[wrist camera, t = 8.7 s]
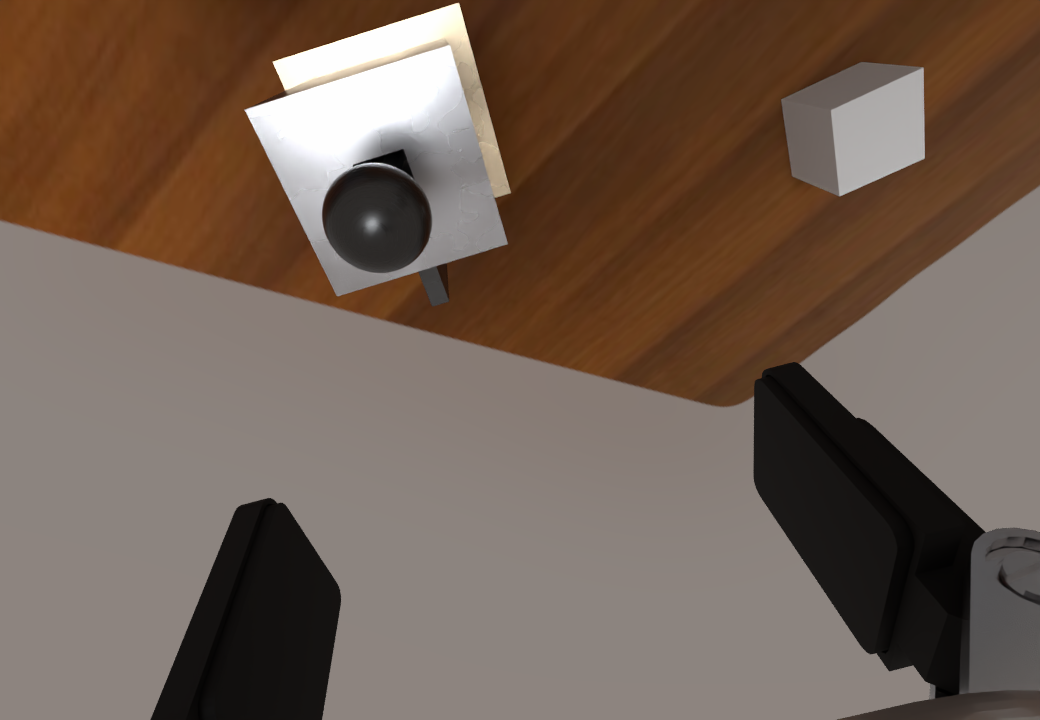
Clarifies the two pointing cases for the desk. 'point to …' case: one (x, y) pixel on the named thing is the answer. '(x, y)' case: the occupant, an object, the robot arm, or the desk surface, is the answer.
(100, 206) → the desk surface
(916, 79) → the white cube
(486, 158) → the grey slotted box
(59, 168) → the desk surface
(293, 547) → the robot arm
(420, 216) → the ball knob lever
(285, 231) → the desk surface
